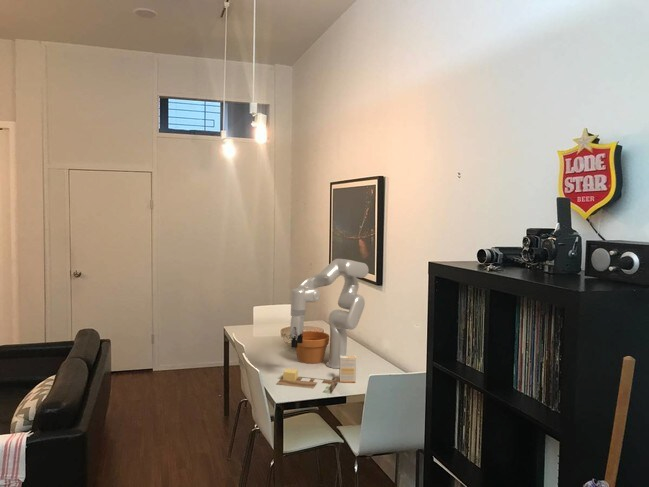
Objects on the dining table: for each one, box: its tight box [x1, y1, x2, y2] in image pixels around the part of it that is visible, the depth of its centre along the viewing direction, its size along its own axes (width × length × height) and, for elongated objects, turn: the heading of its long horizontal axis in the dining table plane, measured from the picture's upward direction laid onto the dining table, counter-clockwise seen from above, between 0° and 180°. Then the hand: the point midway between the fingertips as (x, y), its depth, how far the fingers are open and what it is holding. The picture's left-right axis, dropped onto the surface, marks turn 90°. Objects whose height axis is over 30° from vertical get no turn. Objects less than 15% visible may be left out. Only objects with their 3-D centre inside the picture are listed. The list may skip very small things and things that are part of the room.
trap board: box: [275, 376, 339, 394], centre depth 254 cm, size 15×28×4 cm, turn 77°
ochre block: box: [282, 368, 299, 381], centre depth 258 cm, size 6×6×4 cm
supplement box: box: [338, 354, 357, 384], centre depth 262 cm, size 8×5×13 cm, turn 92°
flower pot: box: [295, 330, 330, 365], centre depth 297 cm, size 21×21×15 cm
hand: (296, 345), depth 265 cm, fingers open, 9 cm apart
